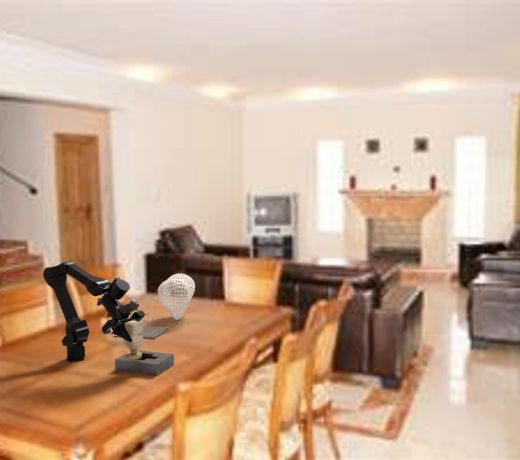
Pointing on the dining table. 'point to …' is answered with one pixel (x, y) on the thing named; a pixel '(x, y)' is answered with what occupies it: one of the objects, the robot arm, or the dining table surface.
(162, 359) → the keyhole plate
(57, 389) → the dining table surface
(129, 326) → the keyhole post
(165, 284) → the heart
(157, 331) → the play button award
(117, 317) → the robot arm
